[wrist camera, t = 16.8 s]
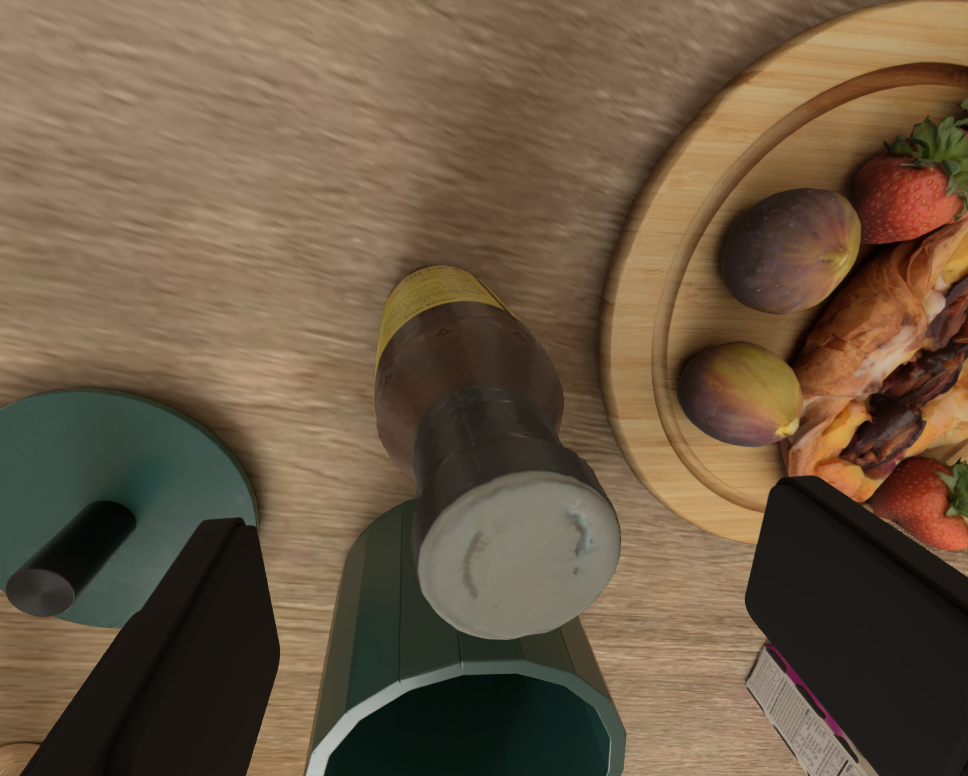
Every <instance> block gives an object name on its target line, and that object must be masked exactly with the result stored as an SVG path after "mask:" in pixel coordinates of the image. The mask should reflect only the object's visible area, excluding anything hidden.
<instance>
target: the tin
mask: <svg viewBox="0 0 968 776" xmlns="http://www.w3.org/2000/svg"><path fill="white" fill-rule="evenodd" d="M417 502H418V498H416V499H413V500H410V501H407V502H405V503H403V504H401V505H398V506H396V507H394V508H393V509H391V510H389V511H388V512H386V513H384V514H383V515H381V516H380V517H379V518H378V519H376V520H375V521H374V522H373V523H371V524H370V525H369V526H368V527H367V528H366V529H365V531H364V532H363V533H362V534H361V535H360V536H359V538H358V539H357V540H356V542H355V543H354V544H353V546H352V548H351V550H350V552H349V554H348V555H347V558H346V561H345V564H344V567H343V571H342V576H341V579H340V583H339V587H338V592H337V597H336V602H335V608H334V613H333V618H332V624H331V629H330V635H329V640H328V645H327V651H326V656H325V661H324V667H323V672H322V678H321V683H320V688H319V694H318V699H317V704H316V710H315V715H314V721H313V726H312V731H311V737H310V742H309V747H308V753H307V758H306V764H305V769H304V774H303V776H621V774H622V772H623V769H624V757H625V745H626V731H625V728H624V726H623V723H622V721H621V718H620V716H619V714H618V711H617V709H616V706H615V704H614V701H613V699H612V697H611V694H610V692H609V689H608V687H607V684H606V682H605V679H604V677H603V675H602V672H601V670H600V667H599V665H598V662H597V660H596V657H595V655H594V653H593V650H592V648H591V645H590V643H589V640H588V638H587V636H586V633H585V631H584V628H583V626H582V623H581V621H580V618H579V616H576V617H575V618H573V619H572V620H570V621H569V622H567V623H565V624H563V625H561V626H560V627H558V628H556V629H554V630H551V631H549V632H547V633H540V634H532V635H525V636H522V637H519V638H516V639H509V640H503V639H485V638H481V637H477V636H473V635H469V634H467V633H464V632H461V631H459V630H457V629H456V628H454V627H453V626H452V625H451V624H449V623H448V622H446V621H445V620H444V619H442V618H441V617H440V616H439V615H438V614H437V613H436V612H435V611H434V609H433V608H432V607H431V606H430V604H429V603H428V602H427V600H426V599H425V597H424V596H423V594H422V592H421V590H420V587H419V583H418V579H417V575H416V570H415V565H414V561H413V559H414V555H413V552H412V549H411V532H412V519H413V513H414V511H415V508H416V504H417Z"/></svg>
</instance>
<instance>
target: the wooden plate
mask: <svg viewBox="0 0 968 776" xmlns="http://www.w3.org/2000/svg"><path fill="white" fill-rule="evenodd" d="M598 371H599V383H600V388H601V394H602V399H603V404H604V407H605V411H606V415H607V419H608V422H609V425H610V428H611V430H612V433H613V435H614V438H615V440H616V443H617V445H618V447H619V449H620V451H621V453H622V455H623V457H624V459H625V461H626V462H627V464H628V465H629V467H630V469H631V470H632V472H633V473H634V475H635V476H636V478H637V479H638V480H639V482H640V483H641V484H642V485H643V486H644V487H645V488H646V489H647V490H648V491H649V493H650V494H651V495H652V496H653V497H654V498H656V499H657V500H658V501H659V502H661V503H662V504H663V505H664V506H665V507H667V508H668V509H669V510H670V511H672V512H673V513H674V514H675V515H677V516H679V517H681V518H682V519H684V520H686V521H688V522H690V523H691V524H693V525H695V526H696V527H698V528H700V529H702V530H704V531H706V532H708V533H711V534H714V535H717V536H720V537H723V538H727V539H730V540H734V541H738V542H741V543H748V544H754V545H757V542H758V538H759V534H760V530H761V525H762V521H763V517H764V512H765V508H766V504H767V499H768V495H769V492H770V489H771V488H772V487H773V486H776V483H777V482H778V481H779V479H781V478H783V477H792V476H805V475H815V476H817V477H820V478H821V479H823V480H824V481H826V482H827V483H829V484H830V485H832V486H833V487H835V488H836V489H838V490H839V491H841V492H842V493H844V494H845V495H847V496H848V497H850V498H851V499H853V500H854V501H856V502H857V503H859V504H860V505H861V506H863V507H864V508H866V509H867V510H869V511H870V512H872V513H873V514H875V515H876V516H878V517H879V518H881V519H882V520H884V521H885V522H887V523H888V522H890V521H892V522H894V523H896V524H897V525H899V526H900V527H902V528H903V529H904V530H906V531H907V532H908V533H910V534H911V535H912V536H914V537H915V538H916V539H918V540H919V541H921V542H923V543H925V544H927V545H930V546H934V547H936V548H938V549H943V550H956V551H957V550H962V549H966V548H968V0H900V1H893V2H887V3H883V4H878V5H873V6H869V7H866V8H862V9H859V10H855V11H852V12H849V13H846V14H843V15H841V16H838V17H835V18H832V19H830V20H827V21H825V22H823V23H820V24H818V25H816V26H814V27H812V28H810V29H808V30H806V31H804V32H802V33H799V34H797V35H795V36H794V37H792V38H790V39H788V40H787V41H785V42H783V43H782V44H780V45H778V46H776V47H775V48H773V49H772V50H770V51H769V52H767V53H766V54H764V55H763V56H761V57H760V58H758V59H757V60H756V61H754V62H753V63H752V64H750V65H749V66H748V67H747V68H745V69H744V70H743V71H742V72H740V73H739V74H738V75H737V76H735V77H734V78H733V79H732V80H730V81H729V82H728V83H727V84H726V85H725V86H724V87H723V88H722V89H720V90H719V91H718V92H717V93H716V94H715V95H714V96H713V97H712V98H711V99H710V100H709V101H708V102H707V103H706V104H705V105H704V106H703V107H702V108H701V109H700V111H699V112H698V113H697V114H696V115H695V116H694V117H693V119H692V120H691V121H690V122H689V123H688V124H687V125H686V127H685V128H684V129H683V130H682V131H681V132H680V134H679V135H678V136H677V137H676V138H675V140H674V141H673V142H672V144H671V145H670V146H669V148H668V149H667V151H666V152H665V153H664V155H663V156H662V157H661V159H660V160H659V162H658V163H657V164H656V166H655V167H654V169H653V171H652V173H651V174H650V176H649V178H648V179H647V181H646V183H645V184H644V186H643V188H642V189H641V191H640V193H639V195H638V197H637V199H636V201H635V203H634V205H633V207H632V210H631V212H630V214H629V216H628V218H627V220H626V223H625V225H624V227H623V230H622V232H621V234H620V237H619V240H618V243H617V246H616V249H615V252H614V255H613V257H612V260H611V264H610V268H609V271H608V275H607V279H606V282H605V287H604V292H603V297H602V302H601V307H600V316H599V330H598Z"/></svg>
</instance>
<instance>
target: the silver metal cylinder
mask: <svg viewBox="0 0 968 776" xmlns="http://www.w3.org/2000/svg"><path fill="white" fill-rule="evenodd" d="M39 747H40V744H34V743H16V744H9V745H5V746H2V747H0V776H19V775H20V774H21V772H22V771H23V770H24V768H25V767H26V765H27V764H28V762H29V761H30V759H31V758H32V757H33V755H34V754H35V752H36V751H37V749H38V748H39Z"/></svg>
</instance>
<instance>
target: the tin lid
mask: <svg viewBox="0 0 968 776" xmlns="http://www.w3.org/2000/svg"><path fill="white" fill-rule="evenodd" d="M235 517H241V518H243V520H244V521H245V523H246V525H254V526H255V527H256V529H257V532H258V530H259V512H258V506H257V501H256V497H255V493H254V491H253V488H252V485H251V483H250V480H249V478H248V476H247V475H246V473H245V471H244V469H243V468H242V466H241V464H240V463H239V462H238V460H237V459H236V458H235V456H234V455H233V454H232V452H231V451H230V450H229V449H228V448H227V447H226V446H225V445H224V444H223V443H222V442H221V441H220V440H219V439H218V438H217V437H216V436H215V435H213V434H212V433H211V432H210V431H209V430H207V429H206V428H205V427H204V426H202V425H201V424H199V423H198V422H196V421H195V420H193V419H191V418H190V417H188V416H187V415H185V414H183V413H181V412H179V411H177V410H175V409H173V408H171V407H169V406H167V405H164V404H162V403H159V402H156V401H154V400H151V399H148V398H145V397H142V396H138V395H134V394H130V393H126V392H121V391H114V390H107V389H95V388H71V389H58V390H53V391H47V392H42V393H37V394H34V395H31V396H28V397H25V398H22V399H19V400H17V401H15V402H13V403H10V404H8V405H6V406H4V407H2V408H0V590H2V591H3V592H5V593H6V595H7V597H8V599H9V601H10V602H11V603H12V604H13V605H14V606H15V607H16V608H18V609H19V610H21V611H23V612H25V613H27V614H30V615H34V616H40V617H51V616H53V617H56V618H59V619H62V620H66V621H70V622H74V623H78V624H83V625H89V626H96V627H106V628H123V626H124V625H125V623H126V622H127V621H128V620H129V619H130V618H131V616H132V615H133V614H134V613H136V612H138V611H140V610H141V609H142V607H143V606H144V604H145V603H146V601H147V600H148V598H149V597H150V596H151V594H152V593H153V591H154V590H155V588H156V587H157V585H158V584H159V582H160V581H161V579H162V578H163V577H164V575H165V574H166V572H167V571H168V569H169V568H170V566H171V565H172V563H173V562H174V560H175V559H176V558H177V556H178V555H179V553H180V552H181V550H182V549H183V547H184V546H185V544H186V543H187V541H188V540H189V539H190V537H191V536H192V534H193V533H194V531H195V530H196V528H197V527H198V525H199V524H200V523H201V522H202V521H204V520H208V519H221V518H235Z"/></svg>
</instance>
